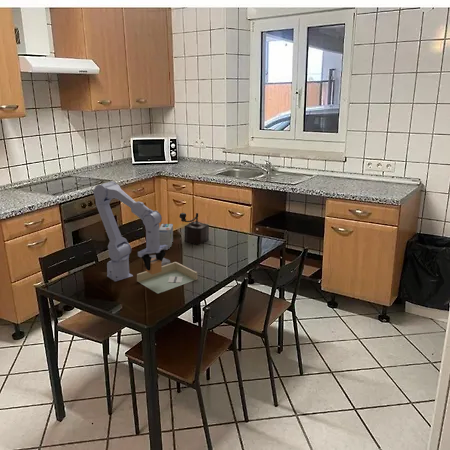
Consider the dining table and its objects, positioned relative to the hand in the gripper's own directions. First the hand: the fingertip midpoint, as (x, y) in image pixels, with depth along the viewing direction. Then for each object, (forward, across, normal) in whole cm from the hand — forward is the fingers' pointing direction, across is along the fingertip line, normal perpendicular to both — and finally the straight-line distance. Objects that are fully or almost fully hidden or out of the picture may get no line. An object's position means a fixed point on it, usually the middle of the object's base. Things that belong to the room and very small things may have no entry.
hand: (153, 268), depth 196 cm
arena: (+8, +6, -2) cm, 10 cm away
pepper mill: (+8, +48, +30) cm, 57 cm away
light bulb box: (+8, +33, +36) cm, 49 cm away
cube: (+2, 0, 0) cm, 2 cm away
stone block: (+8, +14, +16) cm, 23 cm away
